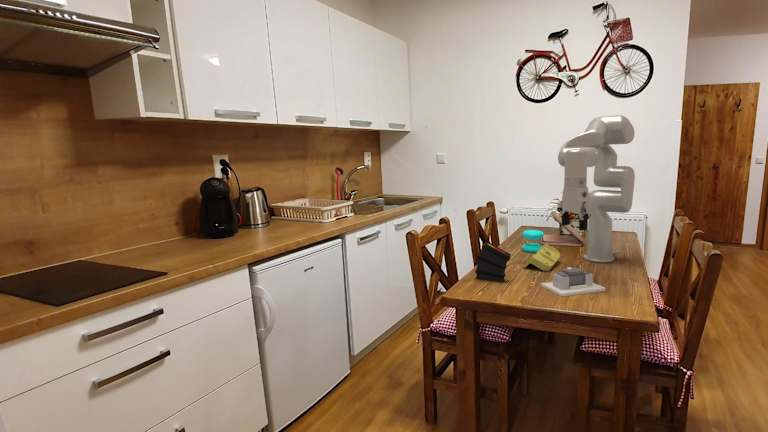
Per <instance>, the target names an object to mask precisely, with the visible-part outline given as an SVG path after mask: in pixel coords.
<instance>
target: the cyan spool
mask: <svg viewBox="0 0 768 432" xmlns="http://www.w3.org/2000/svg"><path fill="white" fill-rule="evenodd" d="M544 235H545V233H544V232H543V231H541V230H537V229H529V230H528V229H527V230H524V231H523V232H522V237H523V238H524V239H527V240H541V238H543V236H544ZM542 246H543V244H541V243H537V242H527V243H524V244H523V245H522V250H523V251H524V252H525V253H532V254H533V253H535V254H536V253H537V252H538V251H539V250H540V248H541V247H542Z"/></svg>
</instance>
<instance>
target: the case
mask: <svg viewBox="0 0 768 432" xmlns="http://www.w3.org/2000/svg"><path fill="white" fill-rule="evenodd" d="M551 216H552V218H553V220H554V221H555V222H557V223H558V224H559V225H560V226H561V227H562V228H564V230H566V231H567V232H568V233H569V234H570V235H559V234H558V235H557V234H544V236H543V238H541V239H540V244H541V245H542V246H543V245H544V244H547V245H549V246H559V247H560V246H561V247H564V246H565V247H582V246H583V243H584V242H585V241H584V239H583V236H582V234H581V233H580V232H579V230H577V229H575V228H574V227H573V226H572V225H571V224H569V225H564V226H563V225H562V216H560V215H559V214H558V213H557V212H556V211H553V210H552V211H551Z"/></svg>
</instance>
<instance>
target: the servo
mask: <svg viewBox="0 0 768 432" xmlns="http://www.w3.org/2000/svg"><path fill="white" fill-rule="evenodd" d="M555 274H557V275H559V276H561V277H569V288H570V286H577V285H583V281H584V275H587V274H590V272H589V271H586V270H585V269H581V268H578V267H570V266H568V267H567V268H563V269H562V270H561V271H559V272H555Z"/></svg>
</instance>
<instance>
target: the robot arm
mask: <svg viewBox="0 0 768 432" xmlns="http://www.w3.org/2000/svg"><path fill="white" fill-rule="evenodd" d="M634 138H635V128H634V126H633V123H632V122H631V121H630V119H629V118H628V117H626V116H624V115H621V114H620V115H619V114H618V115H604V116H597V117H594V118H593V119H592V120H591V121H590V122H589V124H588V125H587V127H586V129H585V130H584V132H582V133H580V134H577V135H576V136H573V137H572V138H570V139H568V140H566V141H565V142H564V143H563V145H562V146H561V147H560V150H559V151H558V155H557V161H558V164H559V166H561V167H563V168H564V180H563V181H564V182H563V183H564V185H563V190H562V198H561V201H559V202H558V207H559V211H560V215H561V218H562V225H563V226H564V225H571V224H570V222H571V216H570V214H575V215H578V218H580V219H579V220H578V231H587V245H586V246H587V248H586V250H587V251H586V253H585V254H583V256H582V257H583V259H584V260H585V261H589V262H593V263H603V264H604V263H613V262H614V261H615V257H614V256H615V255H619V254H620V253H621V252H620V250H619V249H615V250H614V249H612V238H613V237H612V235H613V220H612V217H610V215H609V213H617V214H619V213H621V214H624V213H628V212H630V210H631V209H632V206H633V201H634V191H635V190H634V189H635V180H636V179H635V178H636V175H635V170H634V168H633V167H631V166H630V165H629V166H627V165H617V164H618V154H617V152H616V150H615V149H614V148H613V147H612V146H611V145H627V144H630V143H632V142H633V140H634ZM592 167H594V170H593V184H594V185H595V186H597V187H599V188H609V189H611V188H613V189H615V188H616V189H620V190H609V189H597V190H592V191H590V192H589V188H588V186H587V184H588V181H587V178H588V168H592Z"/></svg>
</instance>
